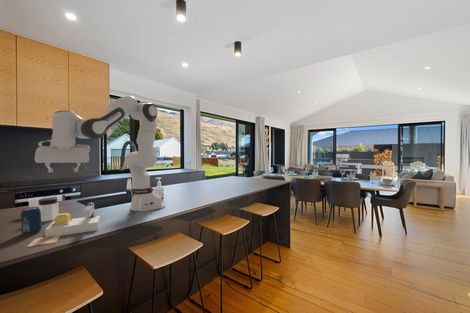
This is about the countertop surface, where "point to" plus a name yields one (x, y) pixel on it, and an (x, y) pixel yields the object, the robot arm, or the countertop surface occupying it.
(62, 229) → the latch box
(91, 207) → the t key
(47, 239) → the cork pad
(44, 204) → the jar
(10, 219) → the countertop surface
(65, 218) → the snap cover
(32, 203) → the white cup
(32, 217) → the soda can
